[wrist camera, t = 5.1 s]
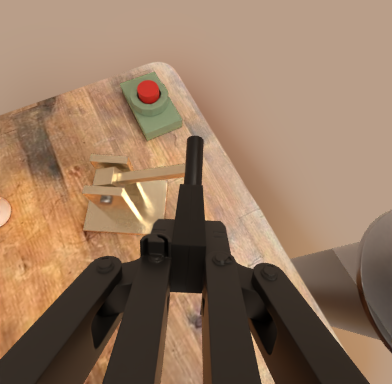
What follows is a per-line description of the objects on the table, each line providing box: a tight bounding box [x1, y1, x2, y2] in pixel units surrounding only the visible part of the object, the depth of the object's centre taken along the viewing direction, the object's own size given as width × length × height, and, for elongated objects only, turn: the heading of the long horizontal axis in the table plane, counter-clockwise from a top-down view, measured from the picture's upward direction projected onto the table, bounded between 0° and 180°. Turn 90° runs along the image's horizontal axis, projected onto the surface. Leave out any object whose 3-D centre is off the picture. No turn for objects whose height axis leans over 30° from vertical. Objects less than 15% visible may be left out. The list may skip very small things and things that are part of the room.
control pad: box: [120, 72, 182, 141], centre depth 46 cm, size 12×7×4 cm, turn 27°
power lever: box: [93, 136, 204, 189], centre depth 29 cm, size 13×7×2 cm, turn 87°
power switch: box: [82, 154, 168, 235], centre depth 35 cm, size 12×9×13 cm
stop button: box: [137, 80, 159, 104], centre depth 43 cm, size 4×4×2 cm
